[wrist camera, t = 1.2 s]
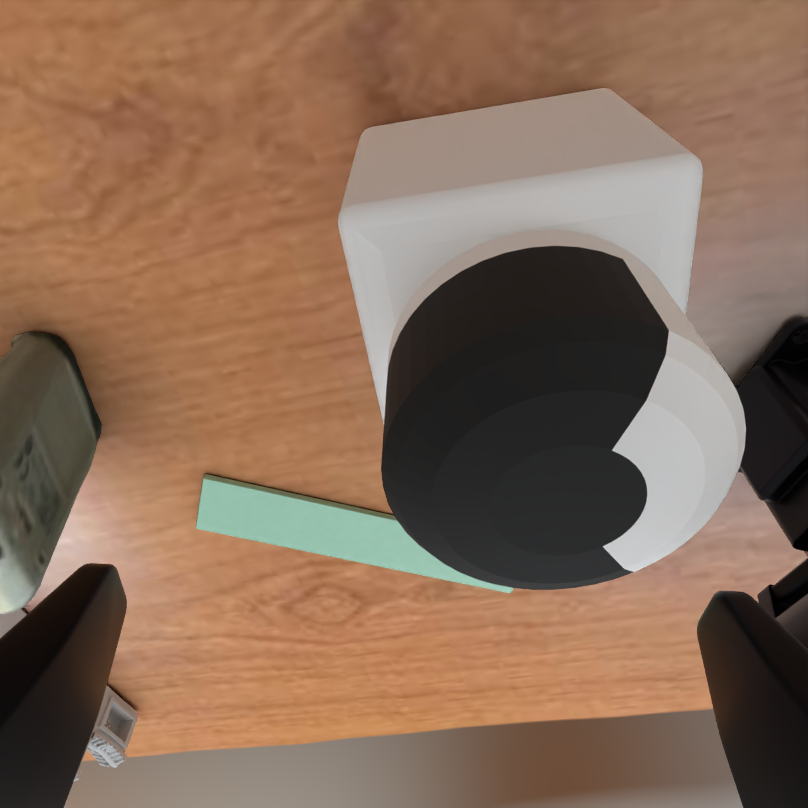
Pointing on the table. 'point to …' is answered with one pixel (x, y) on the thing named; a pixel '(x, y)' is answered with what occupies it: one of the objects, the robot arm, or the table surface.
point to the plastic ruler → (318, 528)
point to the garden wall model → (119, 714)
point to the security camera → (539, 338)
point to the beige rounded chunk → (39, 457)
